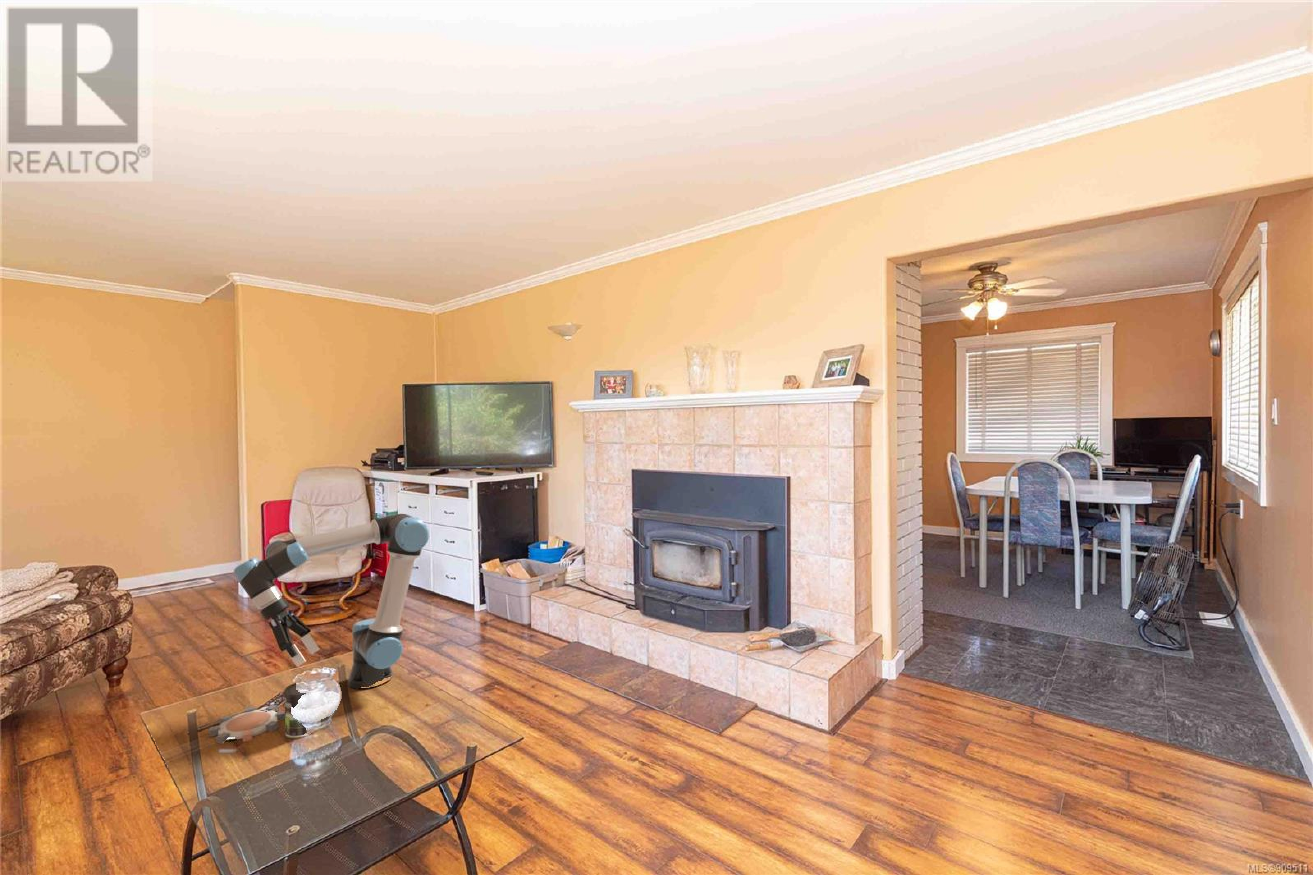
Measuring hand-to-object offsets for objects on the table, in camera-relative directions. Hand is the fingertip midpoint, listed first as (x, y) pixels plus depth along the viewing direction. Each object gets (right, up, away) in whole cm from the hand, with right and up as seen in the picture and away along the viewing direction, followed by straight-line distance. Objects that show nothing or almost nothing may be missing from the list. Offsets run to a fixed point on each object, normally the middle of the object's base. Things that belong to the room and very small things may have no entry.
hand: (308, 658), depth 192 cm
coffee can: (-1, -23, 0) cm, 23 cm away
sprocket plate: (-21, -23, +2) cm, 31 cm away
